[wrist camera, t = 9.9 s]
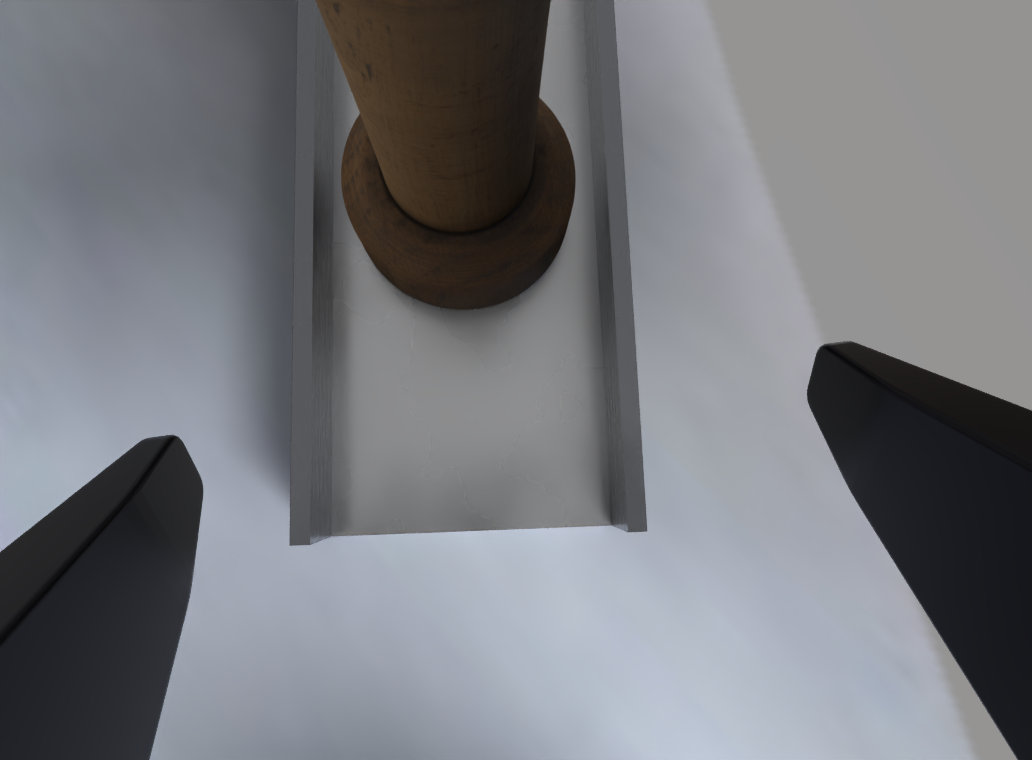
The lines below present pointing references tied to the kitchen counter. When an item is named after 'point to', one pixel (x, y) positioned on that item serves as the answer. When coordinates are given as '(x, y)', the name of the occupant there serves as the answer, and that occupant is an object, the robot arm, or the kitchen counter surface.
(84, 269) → the kitchen counter surface
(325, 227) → the floor track
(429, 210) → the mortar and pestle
